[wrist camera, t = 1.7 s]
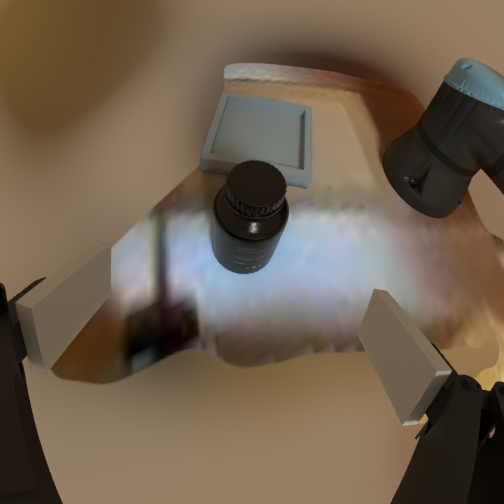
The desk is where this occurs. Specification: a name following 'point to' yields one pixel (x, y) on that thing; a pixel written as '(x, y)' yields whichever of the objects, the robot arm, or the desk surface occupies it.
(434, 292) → the desk surface
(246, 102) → the tray
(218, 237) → the supplement bottle
